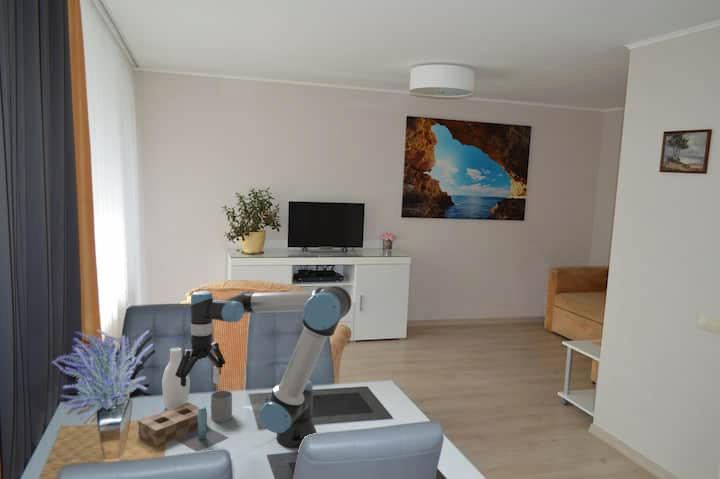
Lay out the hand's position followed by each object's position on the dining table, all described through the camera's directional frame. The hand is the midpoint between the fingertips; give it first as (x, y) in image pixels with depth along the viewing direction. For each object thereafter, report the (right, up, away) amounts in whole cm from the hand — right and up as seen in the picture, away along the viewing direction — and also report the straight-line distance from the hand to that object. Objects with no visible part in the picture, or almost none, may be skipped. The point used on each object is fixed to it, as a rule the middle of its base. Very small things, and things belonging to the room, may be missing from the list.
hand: (201, 388), depth 200 cm
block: (-13, -19, +8) cm, 24 cm away
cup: (+2, -18, +20) cm, 27 cm away
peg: (0, -19, +2) cm, 20 cm away
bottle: (-19, -16, +30) cm, 39 cm away
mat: (0, -20, +2) cm, 20 cm away
